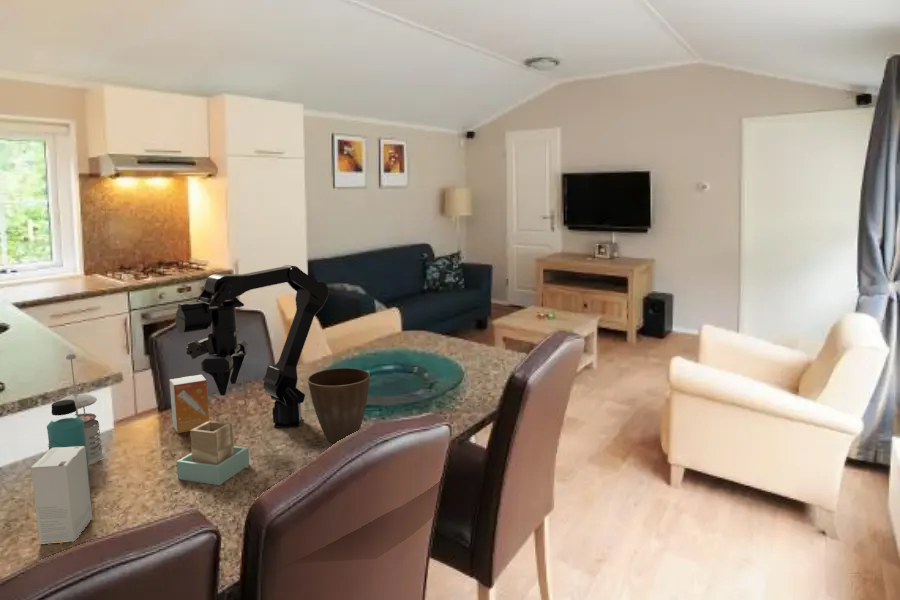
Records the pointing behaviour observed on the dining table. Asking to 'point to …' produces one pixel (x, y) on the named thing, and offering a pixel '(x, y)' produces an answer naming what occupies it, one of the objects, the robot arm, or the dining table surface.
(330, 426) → the plant pot
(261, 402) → the dining table surface
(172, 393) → the small box
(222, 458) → the birch crate
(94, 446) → the french press
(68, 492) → the skincare box
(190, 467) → the teal crate
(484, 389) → the dining table surface
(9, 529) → the dining table surface
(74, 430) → the beverage bottle
